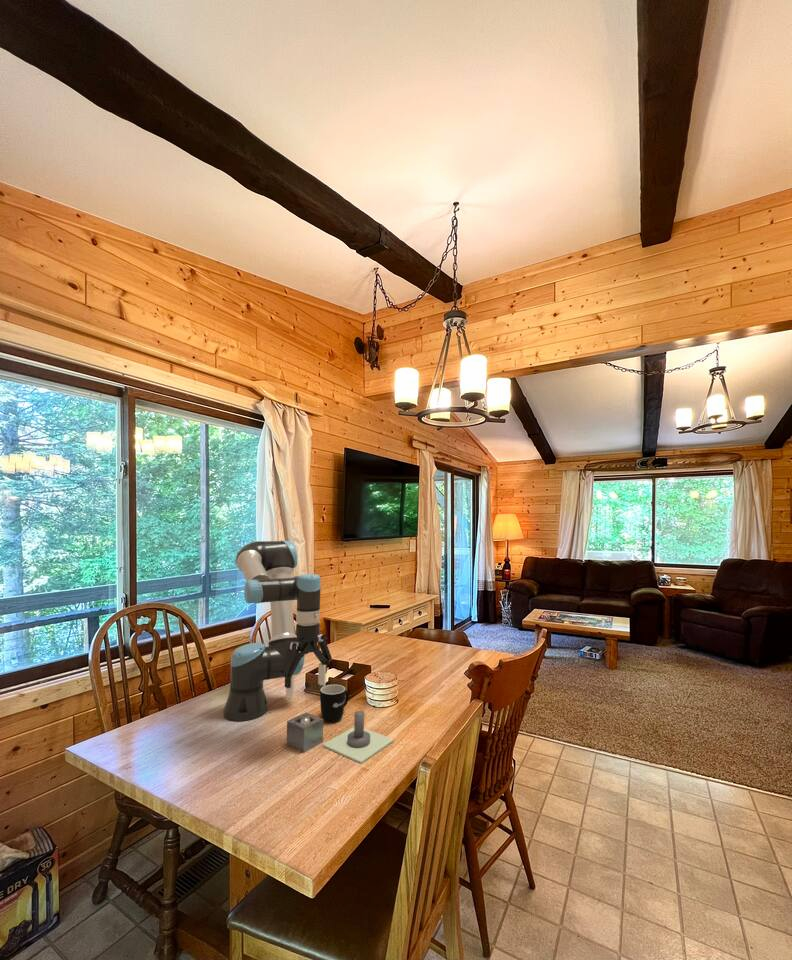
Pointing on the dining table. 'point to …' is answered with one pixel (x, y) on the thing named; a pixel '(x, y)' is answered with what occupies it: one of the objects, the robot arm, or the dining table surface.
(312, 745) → the collar
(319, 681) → the robot arm
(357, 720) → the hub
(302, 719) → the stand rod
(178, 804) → the dining table surface
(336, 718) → the mug
